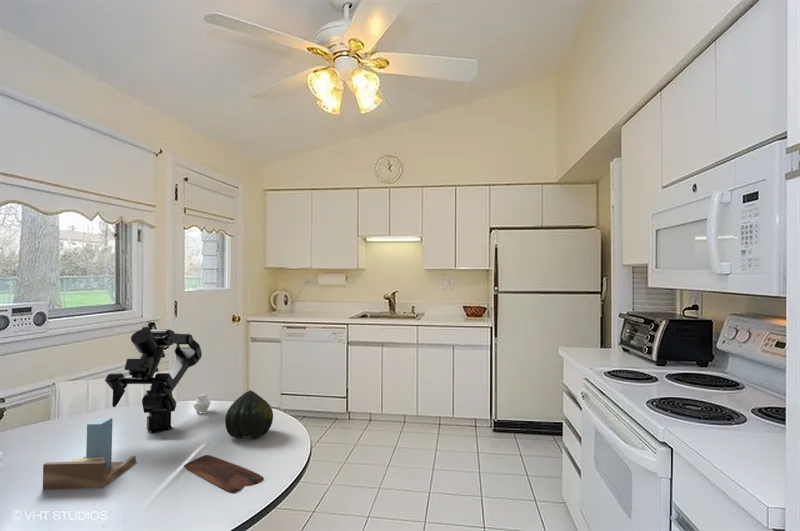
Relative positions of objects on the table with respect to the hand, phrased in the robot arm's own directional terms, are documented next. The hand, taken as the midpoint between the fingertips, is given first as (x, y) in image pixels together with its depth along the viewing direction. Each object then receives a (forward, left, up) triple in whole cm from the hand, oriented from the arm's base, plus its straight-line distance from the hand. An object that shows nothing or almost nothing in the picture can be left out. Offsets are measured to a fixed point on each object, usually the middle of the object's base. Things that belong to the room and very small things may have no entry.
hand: (129, 406), depth 129 cm
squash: (-32, +12, -14) cm, 37 cm away
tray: (+11, +13, -13) cm, 21 cm away
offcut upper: (+13, +16, -10) cm, 23 cm away
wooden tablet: (-15, +32, -14) cm, 38 cm away
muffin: (-29, -23, -14) cm, 40 cm away
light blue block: (+9, +11, -12) cm, 19 cm away
